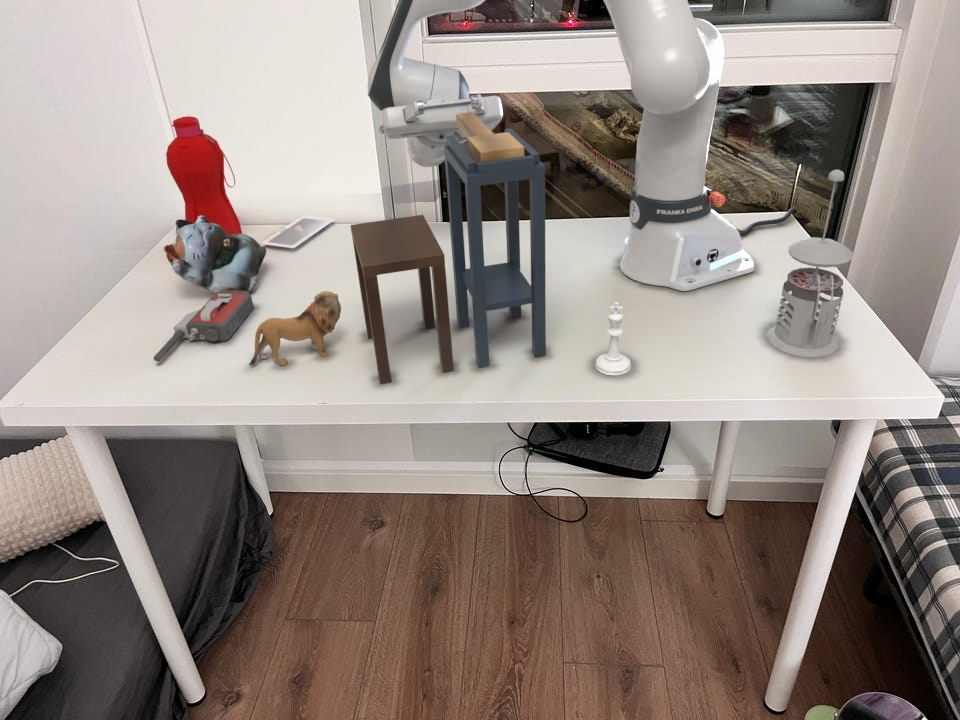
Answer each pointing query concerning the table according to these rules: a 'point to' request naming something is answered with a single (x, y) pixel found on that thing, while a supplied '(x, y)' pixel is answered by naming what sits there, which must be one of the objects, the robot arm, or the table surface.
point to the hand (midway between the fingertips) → (448, 102)
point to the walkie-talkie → (212, 320)
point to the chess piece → (613, 348)
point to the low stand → (393, 252)
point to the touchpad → (297, 231)
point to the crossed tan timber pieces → (487, 140)
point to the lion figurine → (300, 327)
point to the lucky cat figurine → (214, 256)
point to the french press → (811, 295)
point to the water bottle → (201, 175)
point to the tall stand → (506, 280)
